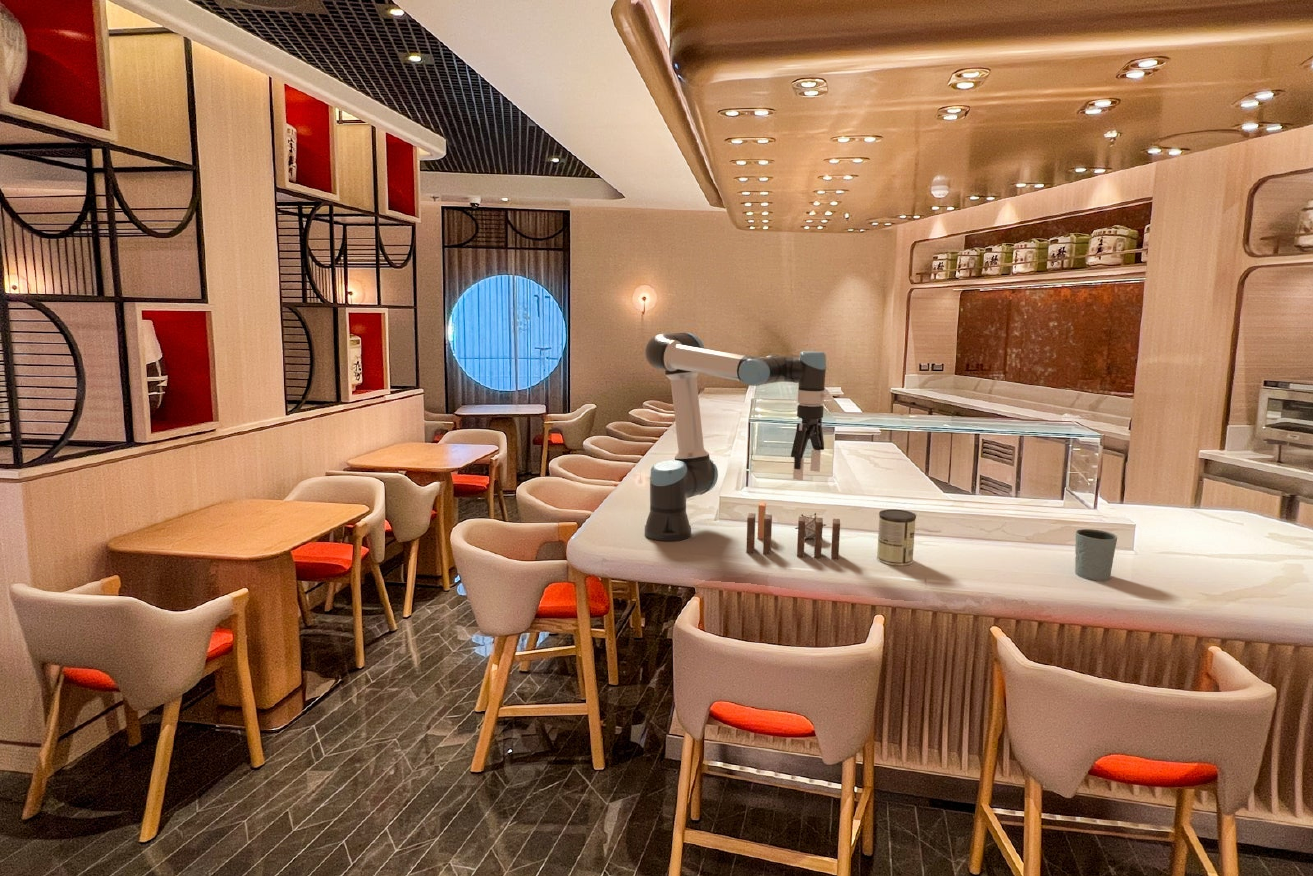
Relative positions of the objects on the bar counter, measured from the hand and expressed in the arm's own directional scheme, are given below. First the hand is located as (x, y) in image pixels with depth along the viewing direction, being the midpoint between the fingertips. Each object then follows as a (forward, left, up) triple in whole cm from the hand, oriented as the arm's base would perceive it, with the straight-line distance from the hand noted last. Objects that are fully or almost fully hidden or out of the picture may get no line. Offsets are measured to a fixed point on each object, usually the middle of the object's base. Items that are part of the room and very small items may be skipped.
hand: (806, 475), depth 226 cm
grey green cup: (+70, +38, -24) cm, 83 cm away
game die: (-5, +13, -24) cm, 28 cm away
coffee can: (+24, +12, -24) cm, 36 cm away
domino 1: (-12, -10, -24) cm, 29 cm away
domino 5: (+5, 0, -24) cm, 24 cm away
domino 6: (+9, +3, -24) cm, 26 cm away
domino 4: (+1, -2, -24) cm, 24 cm away
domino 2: (-18, +4, -24) cm, 30 cm away
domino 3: (-8, -7, -24) cm, 26 cm away
